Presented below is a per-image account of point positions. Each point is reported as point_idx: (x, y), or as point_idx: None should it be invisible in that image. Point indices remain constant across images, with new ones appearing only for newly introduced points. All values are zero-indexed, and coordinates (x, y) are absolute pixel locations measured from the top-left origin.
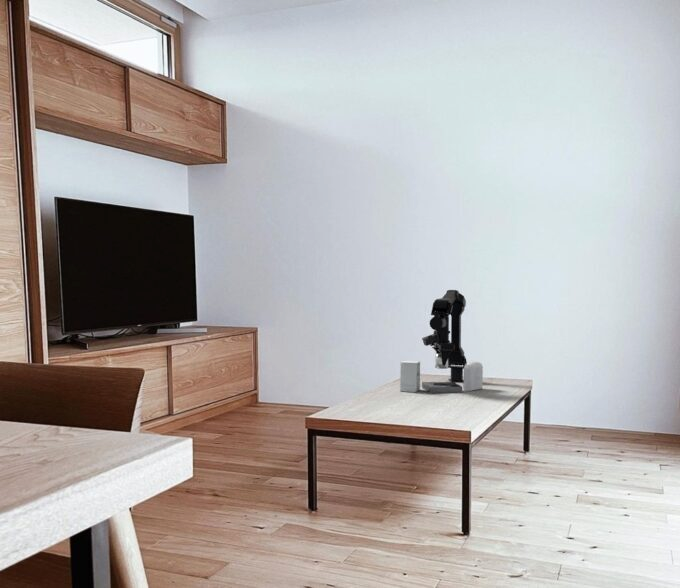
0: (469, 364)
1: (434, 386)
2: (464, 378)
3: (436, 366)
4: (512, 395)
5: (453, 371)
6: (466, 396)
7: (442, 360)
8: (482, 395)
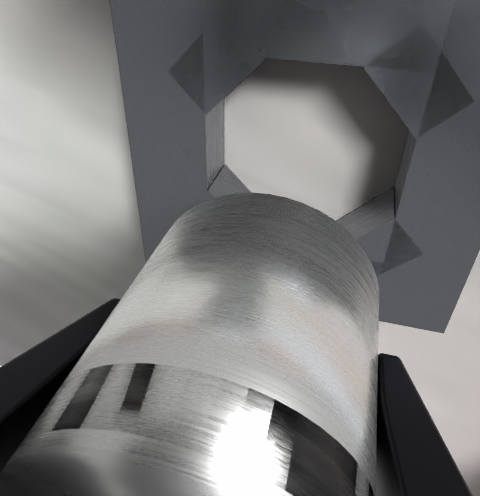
0: None
1: (158, 20)
2: None
3: (214, 212)
4: None
5: None
6: (17, 206)
7: (30, 353)
8: (70, 305)
